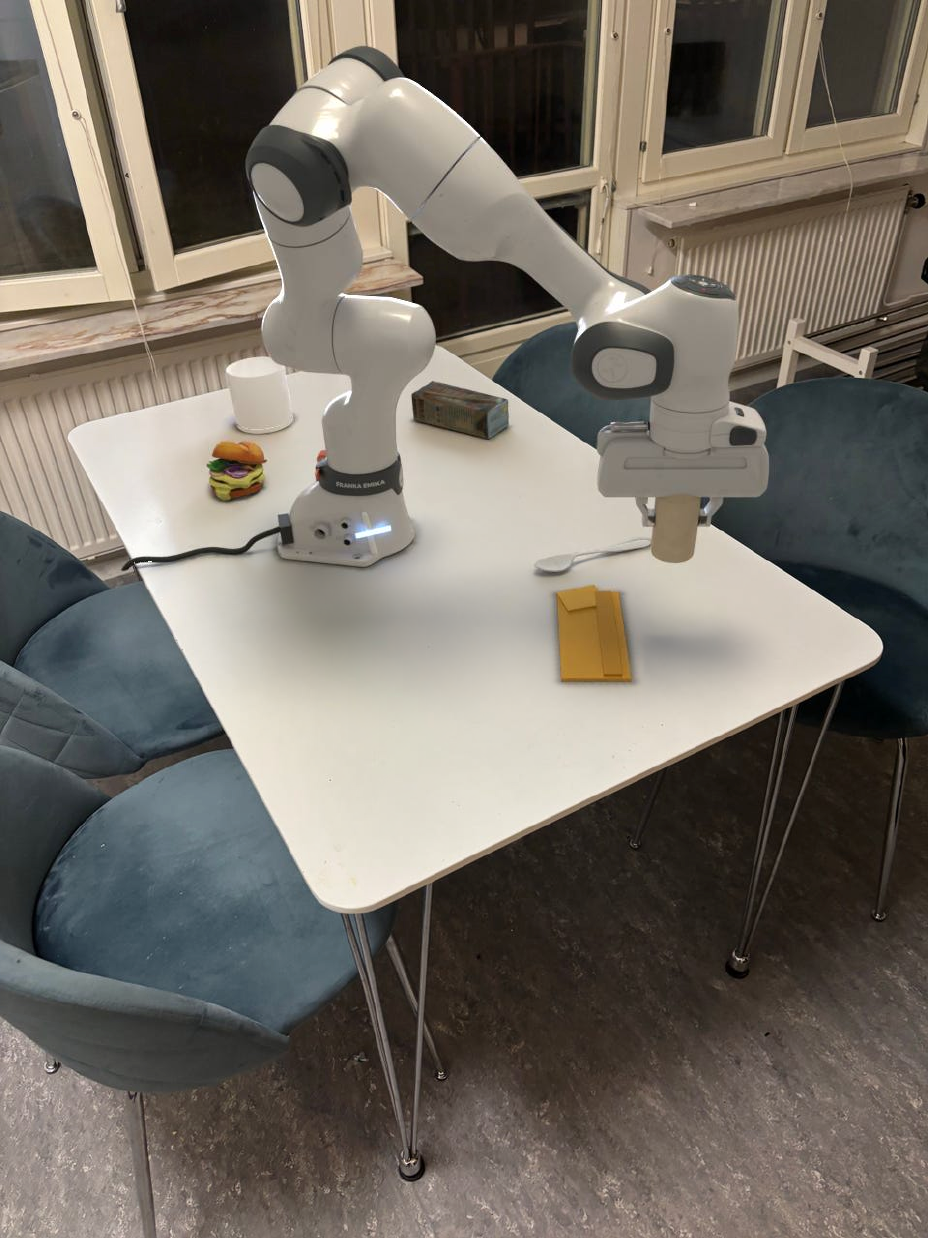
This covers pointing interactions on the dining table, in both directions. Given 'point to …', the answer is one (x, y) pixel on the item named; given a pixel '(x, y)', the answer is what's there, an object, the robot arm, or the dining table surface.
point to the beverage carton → (460, 409)
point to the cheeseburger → (236, 469)
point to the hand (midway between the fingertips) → (675, 524)
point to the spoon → (566, 560)
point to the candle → (675, 528)
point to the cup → (259, 395)
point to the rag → (592, 636)
